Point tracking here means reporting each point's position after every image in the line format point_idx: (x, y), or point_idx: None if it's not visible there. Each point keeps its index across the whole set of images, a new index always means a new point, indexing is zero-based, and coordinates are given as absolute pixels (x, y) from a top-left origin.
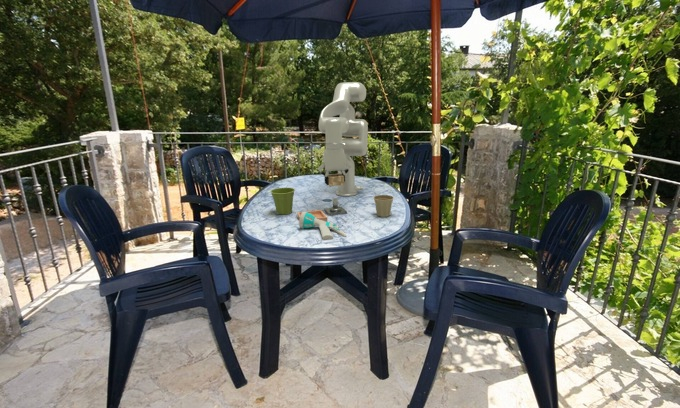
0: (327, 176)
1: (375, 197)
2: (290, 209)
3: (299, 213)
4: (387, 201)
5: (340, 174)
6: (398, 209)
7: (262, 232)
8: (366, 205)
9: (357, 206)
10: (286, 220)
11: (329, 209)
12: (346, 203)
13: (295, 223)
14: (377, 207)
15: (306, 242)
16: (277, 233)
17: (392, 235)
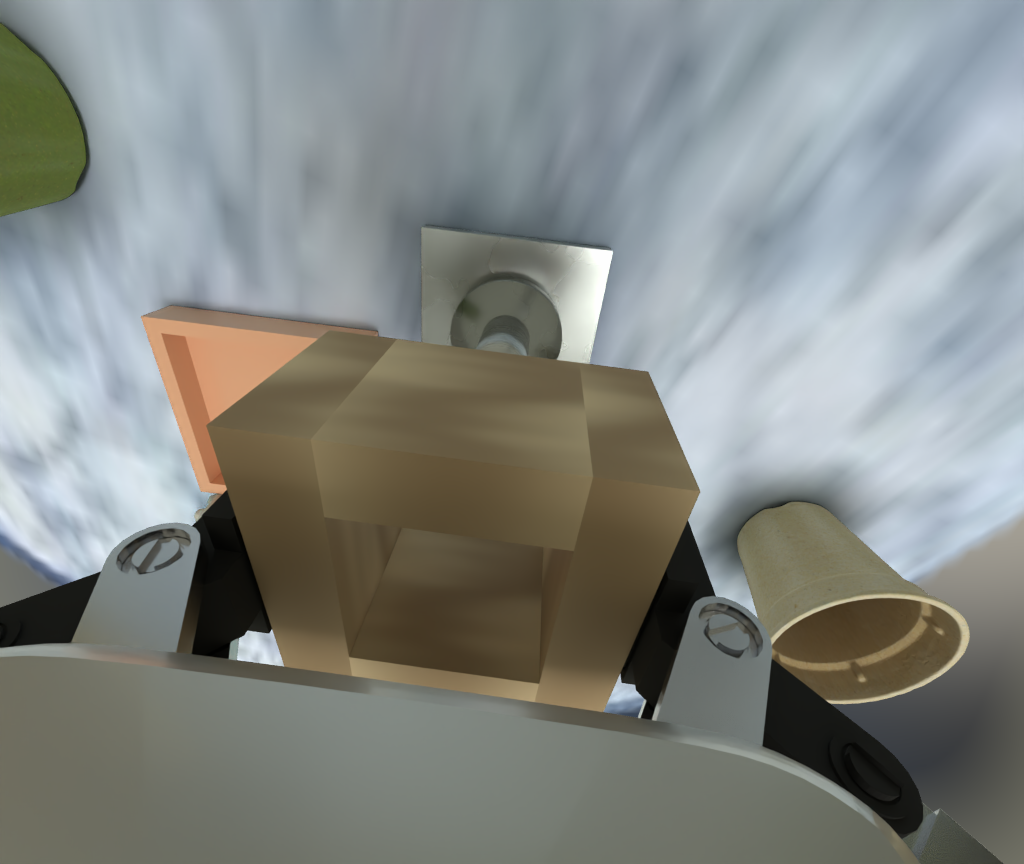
0: (251, 610)
1: (833, 595)
2: (46, 194)
3: (166, 354)
4: (815, 686)
5: (630, 595)
6: (993, 488)
7: (7, 487)
8: (895, 264)
9: (791, 255)
10: (97, 355)
11: (459, 295)
12: (774, 54)
13: (177, 437)
14: (752, 593)
15: (256, 643)
16: (101, 528)
17: (608, 711)
